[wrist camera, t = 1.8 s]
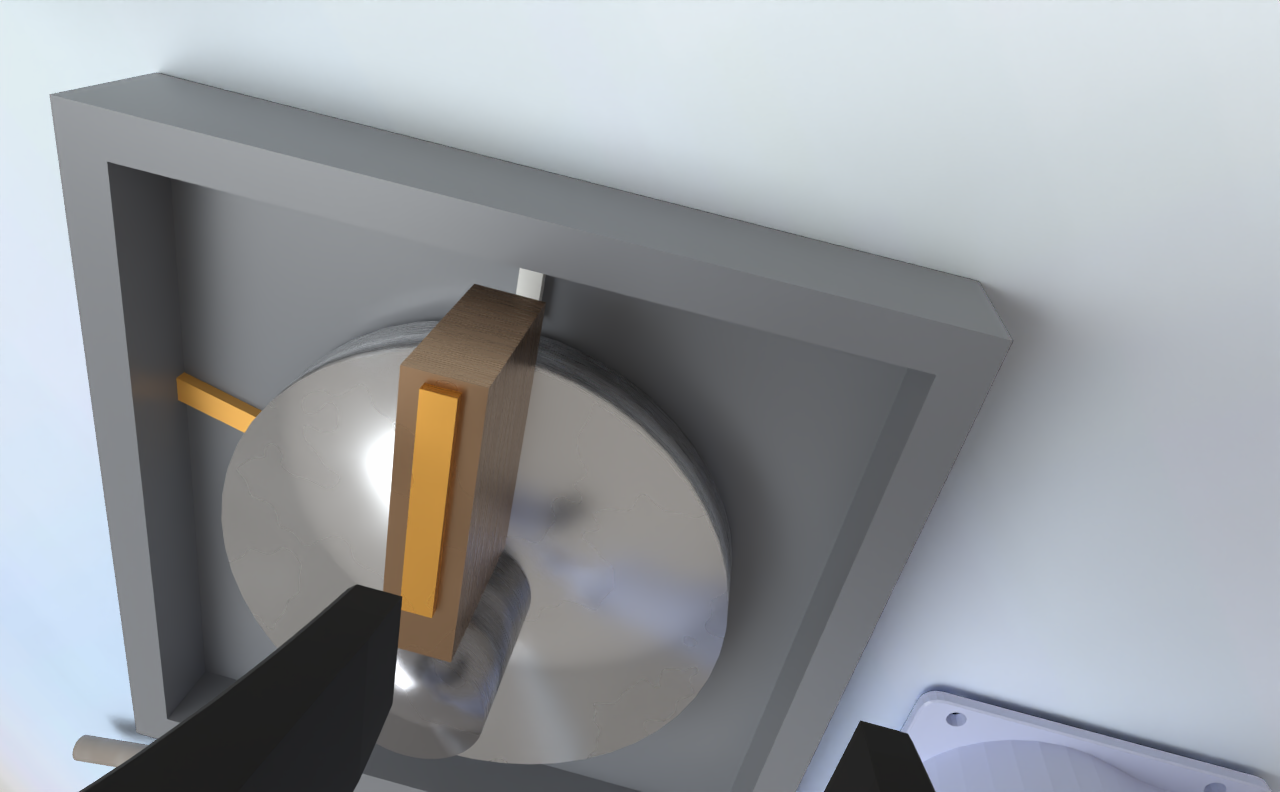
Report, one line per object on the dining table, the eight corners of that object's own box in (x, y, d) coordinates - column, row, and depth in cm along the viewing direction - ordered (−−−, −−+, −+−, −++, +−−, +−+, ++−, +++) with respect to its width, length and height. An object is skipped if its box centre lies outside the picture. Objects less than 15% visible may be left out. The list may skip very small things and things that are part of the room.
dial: (669, 761, 24) (641, 960, 19) (262, 649, 24) (137, 817, 19) (818, 338, 17) (831, 485, 12) (252, 192, 17) (59, 282, 13)
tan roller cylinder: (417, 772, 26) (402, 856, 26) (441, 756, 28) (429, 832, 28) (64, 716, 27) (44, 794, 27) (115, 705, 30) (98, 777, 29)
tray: (979, 281, 17) (1013, 340, 15) (746, 806, 26) (742, 902, 24) (156, 72, 18) (49, 94, 15) (199, 656, 27) (136, 732, 24)
